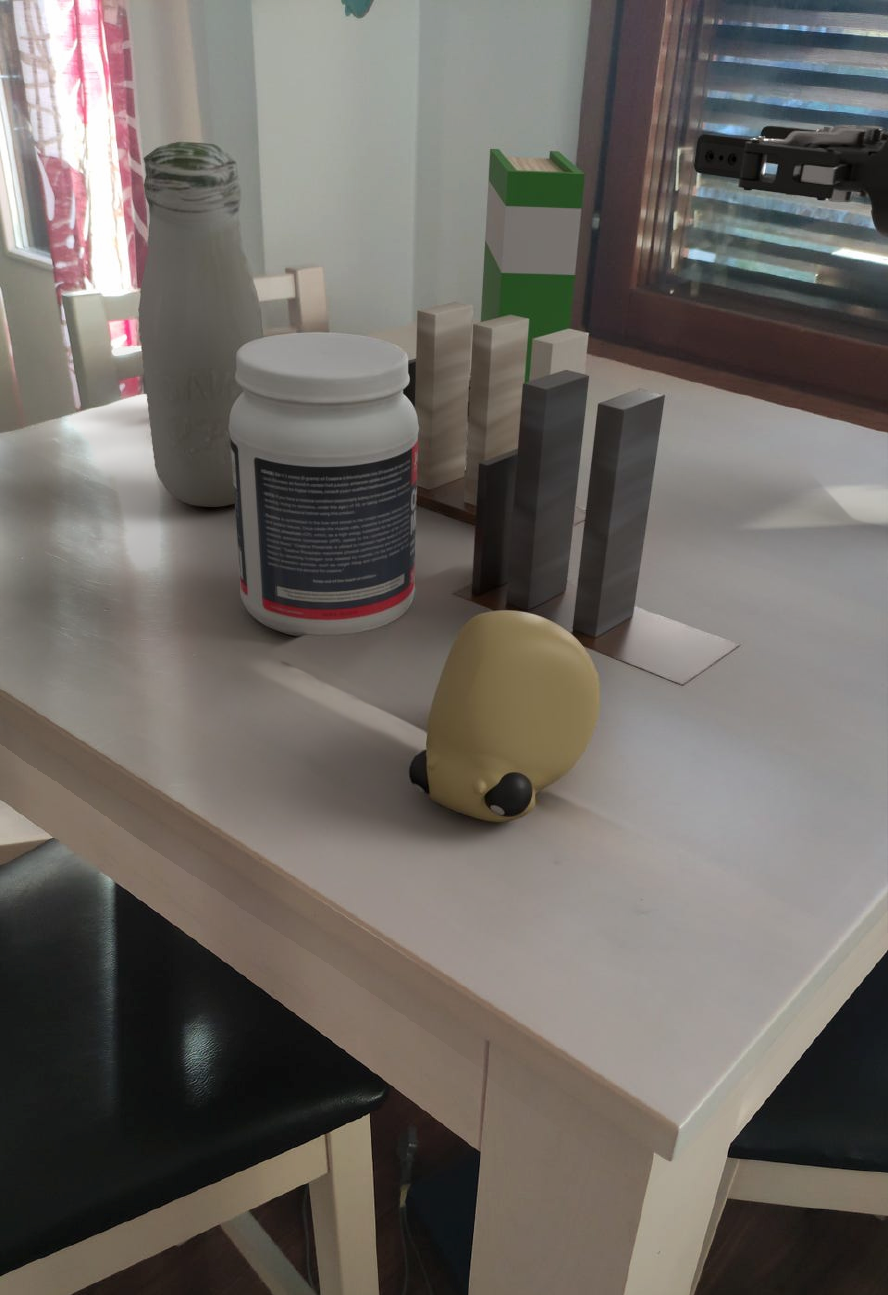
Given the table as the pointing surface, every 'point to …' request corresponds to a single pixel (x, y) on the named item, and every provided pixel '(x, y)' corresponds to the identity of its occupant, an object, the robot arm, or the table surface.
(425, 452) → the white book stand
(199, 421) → the glass bottle
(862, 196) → the robot arm
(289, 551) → the supplement tub
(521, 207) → the hardback book
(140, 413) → the table surface
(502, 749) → the yellow toy with eyes
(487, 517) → the grey book stand
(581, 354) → the beige rectangular block
